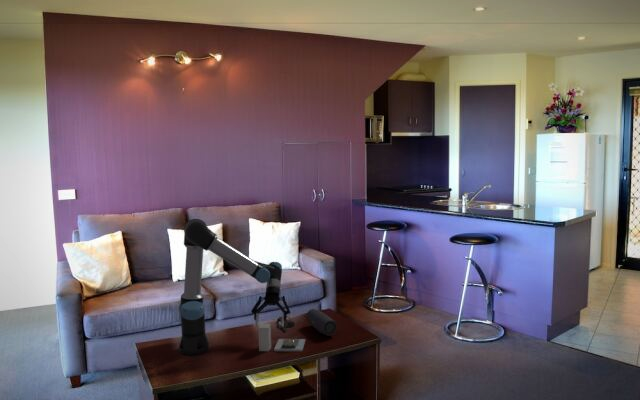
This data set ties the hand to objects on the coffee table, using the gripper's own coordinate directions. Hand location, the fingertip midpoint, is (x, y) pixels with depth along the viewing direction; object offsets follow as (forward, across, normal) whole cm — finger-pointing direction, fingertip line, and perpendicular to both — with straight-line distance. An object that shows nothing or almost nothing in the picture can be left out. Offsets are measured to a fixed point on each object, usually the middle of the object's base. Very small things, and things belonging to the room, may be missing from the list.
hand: (269, 325), depth 269 cm
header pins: (+11, -11, -1) cm, 15 cm away
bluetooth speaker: (-7, -25, -22) cm, 34 cm away
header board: (+8, -11, -6) cm, 15 cm away
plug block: (+11, +1, -3) cm, 11 cm away
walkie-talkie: (-12, -4, -28) cm, 31 cm away
